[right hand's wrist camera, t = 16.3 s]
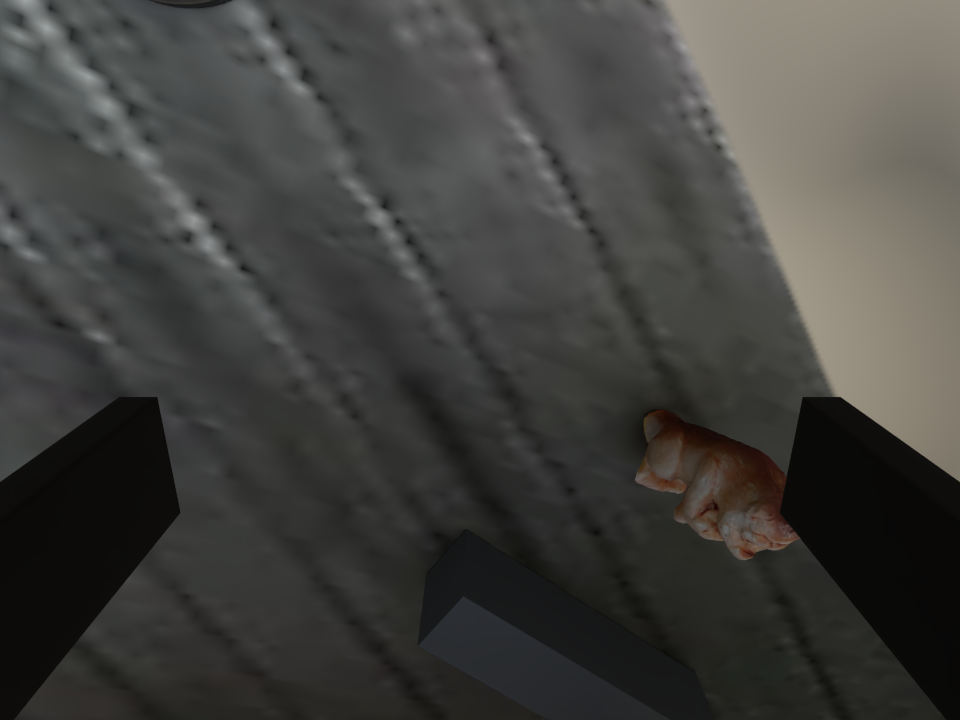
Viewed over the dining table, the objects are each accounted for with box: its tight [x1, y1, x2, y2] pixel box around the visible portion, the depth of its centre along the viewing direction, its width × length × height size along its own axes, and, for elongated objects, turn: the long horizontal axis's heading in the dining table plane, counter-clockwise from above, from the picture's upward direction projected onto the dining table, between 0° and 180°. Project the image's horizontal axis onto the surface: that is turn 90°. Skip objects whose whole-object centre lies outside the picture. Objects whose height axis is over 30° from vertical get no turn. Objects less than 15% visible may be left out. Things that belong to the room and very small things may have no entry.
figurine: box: [635, 410, 800, 560], centre depth 39 cm, size 6×8×15 cm
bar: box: [418, 530, 714, 720], centre depth 49 cm, size 26×6×8 cm, turn 53°
